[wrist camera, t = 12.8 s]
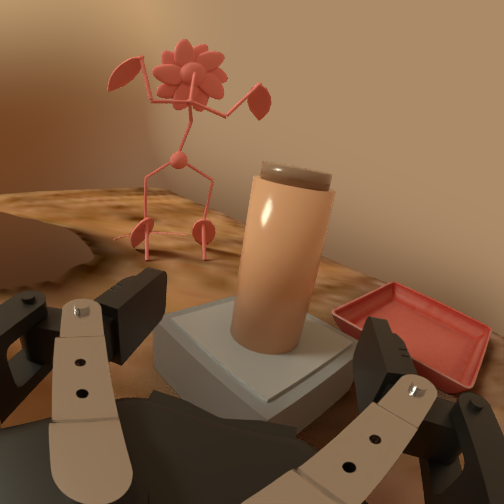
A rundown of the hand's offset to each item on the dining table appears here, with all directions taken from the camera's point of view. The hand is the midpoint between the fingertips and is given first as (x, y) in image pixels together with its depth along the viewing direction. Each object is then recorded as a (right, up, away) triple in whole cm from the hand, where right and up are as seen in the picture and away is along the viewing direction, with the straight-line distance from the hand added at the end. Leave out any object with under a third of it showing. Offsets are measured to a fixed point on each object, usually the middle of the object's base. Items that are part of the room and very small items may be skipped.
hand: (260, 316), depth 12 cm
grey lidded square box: (0, -8, +13) cm, 15 cm away
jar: (+1, -4, +11) cm, 12 cm away
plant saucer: (+20, -9, +23) cm, 32 cm away
